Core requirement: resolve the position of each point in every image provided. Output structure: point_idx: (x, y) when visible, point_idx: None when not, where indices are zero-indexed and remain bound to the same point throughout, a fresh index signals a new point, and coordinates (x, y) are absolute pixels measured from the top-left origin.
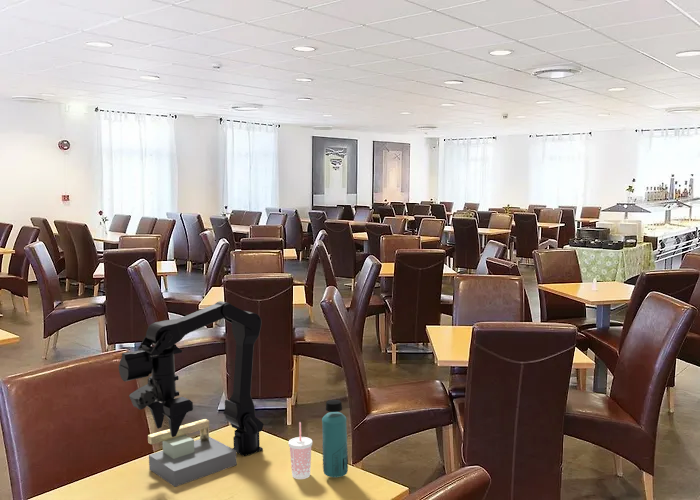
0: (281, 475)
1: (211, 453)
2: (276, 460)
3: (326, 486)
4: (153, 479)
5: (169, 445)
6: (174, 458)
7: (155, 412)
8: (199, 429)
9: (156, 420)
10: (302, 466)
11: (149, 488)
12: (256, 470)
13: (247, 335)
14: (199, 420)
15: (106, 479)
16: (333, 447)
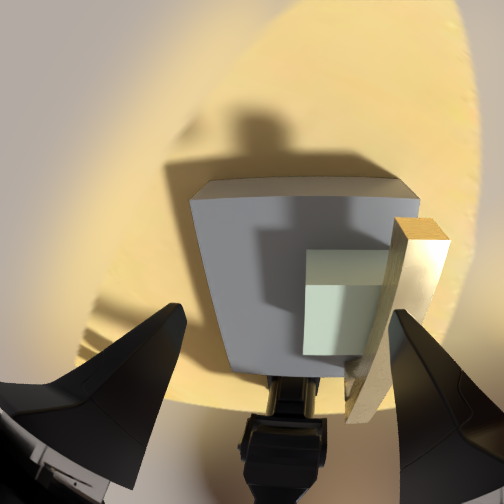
0: None
1: (256, 339)
2: (213, 379)
3: None
4: (315, 150)
5: (344, 279)
6: (306, 252)
7: (436, 416)
8: (352, 389)
9: (413, 355)
10: None
11: (252, 110)
12: (191, 346)
13: None
14: (373, 413)
15: (425, 43)
16: None
